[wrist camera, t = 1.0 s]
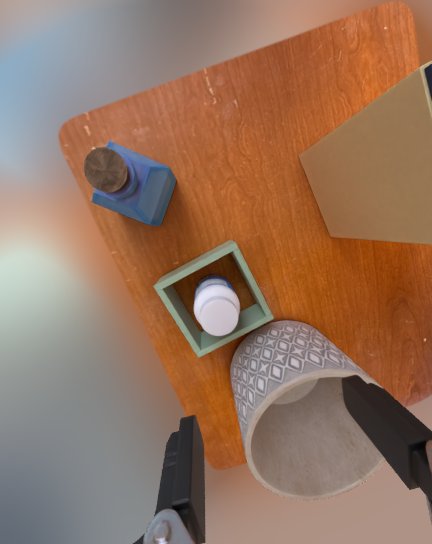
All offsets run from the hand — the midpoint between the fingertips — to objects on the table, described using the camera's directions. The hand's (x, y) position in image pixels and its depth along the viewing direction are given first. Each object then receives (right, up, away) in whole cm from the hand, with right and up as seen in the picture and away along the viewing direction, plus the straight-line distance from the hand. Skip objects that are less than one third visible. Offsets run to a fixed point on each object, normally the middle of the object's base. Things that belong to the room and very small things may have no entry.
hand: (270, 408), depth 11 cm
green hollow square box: (-3, +4, +20) cm, 21 cm away
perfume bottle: (-12, +18, +17) cm, 27 cm away
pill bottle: (-3, +5, +20) cm, 21 cm away
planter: (+7, -8, +23) cm, 26 cm away
